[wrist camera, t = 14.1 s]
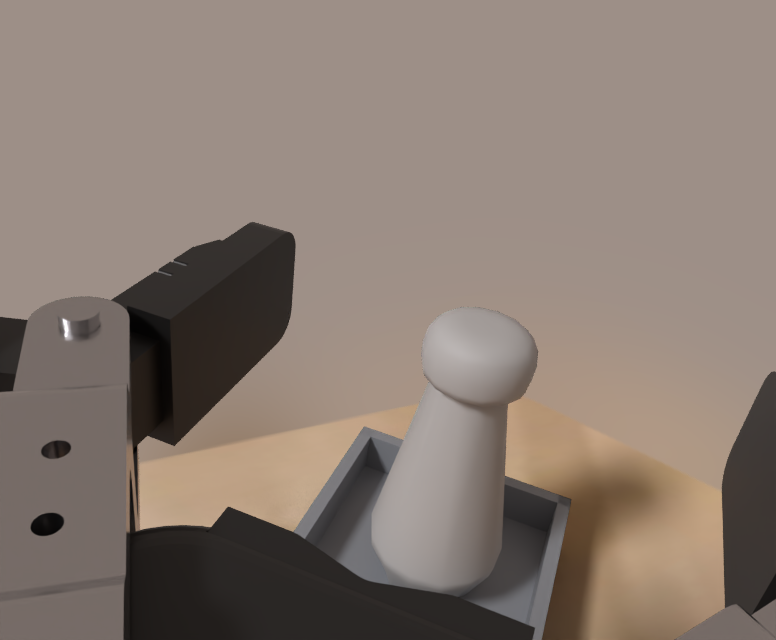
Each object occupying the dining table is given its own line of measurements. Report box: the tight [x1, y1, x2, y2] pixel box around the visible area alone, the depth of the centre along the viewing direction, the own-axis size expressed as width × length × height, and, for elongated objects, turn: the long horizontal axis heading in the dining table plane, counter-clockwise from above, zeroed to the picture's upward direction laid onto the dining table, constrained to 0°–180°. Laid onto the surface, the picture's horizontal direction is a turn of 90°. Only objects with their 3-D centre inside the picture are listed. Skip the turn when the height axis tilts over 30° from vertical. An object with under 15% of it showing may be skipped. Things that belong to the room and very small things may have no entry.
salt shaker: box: [372, 307, 538, 597], centre depth 30 cm, size 6×6×13 cm
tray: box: [294, 426, 571, 640], centre depth 34 cm, size 11×11×3 cm
